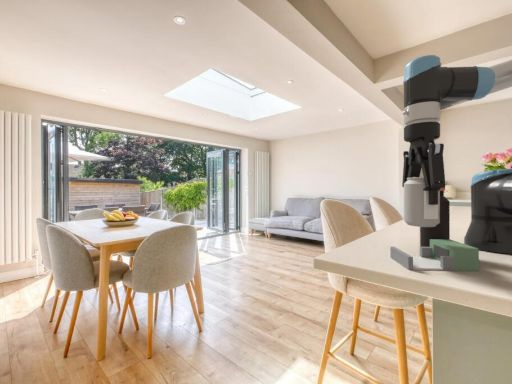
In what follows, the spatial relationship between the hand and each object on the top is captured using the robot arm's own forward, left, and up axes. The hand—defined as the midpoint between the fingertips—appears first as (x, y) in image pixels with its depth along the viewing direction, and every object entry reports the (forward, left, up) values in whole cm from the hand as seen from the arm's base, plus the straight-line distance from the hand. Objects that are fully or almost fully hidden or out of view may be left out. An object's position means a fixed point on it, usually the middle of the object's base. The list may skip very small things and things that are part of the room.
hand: (421, 216), depth 63 cm
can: (0, 0, -2) cm, 2 cm away
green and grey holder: (-2, 0, -12) cm, 12 cm away
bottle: (-8, -9, -12) cm, 17 cm away
